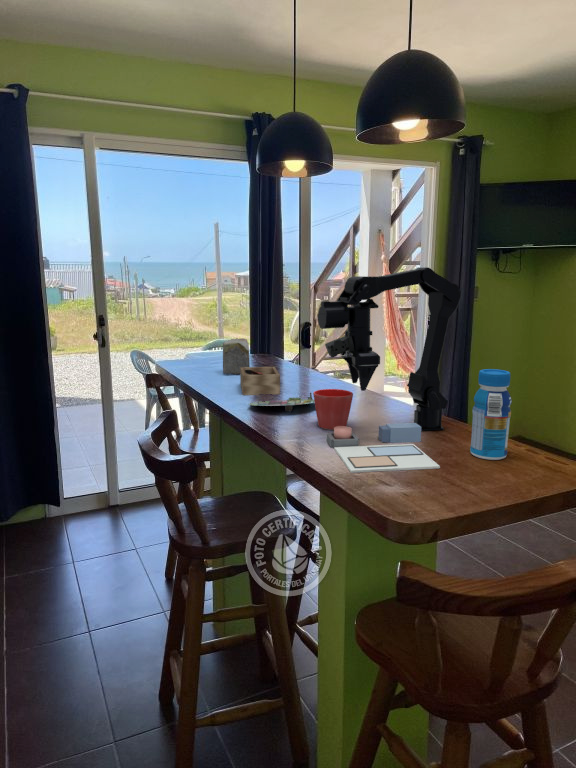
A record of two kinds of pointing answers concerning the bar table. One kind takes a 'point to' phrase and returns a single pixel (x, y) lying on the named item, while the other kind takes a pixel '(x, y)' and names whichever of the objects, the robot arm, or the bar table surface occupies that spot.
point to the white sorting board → (384, 458)
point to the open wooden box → (260, 381)
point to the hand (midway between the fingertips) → (358, 386)
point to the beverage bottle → (491, 415)
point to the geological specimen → (235, 355)
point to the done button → (342, 432)
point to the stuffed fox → (252, 372)
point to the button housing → (342, 441)
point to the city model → (285, 402)
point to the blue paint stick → (400, 433)
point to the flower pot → (332, 407)
